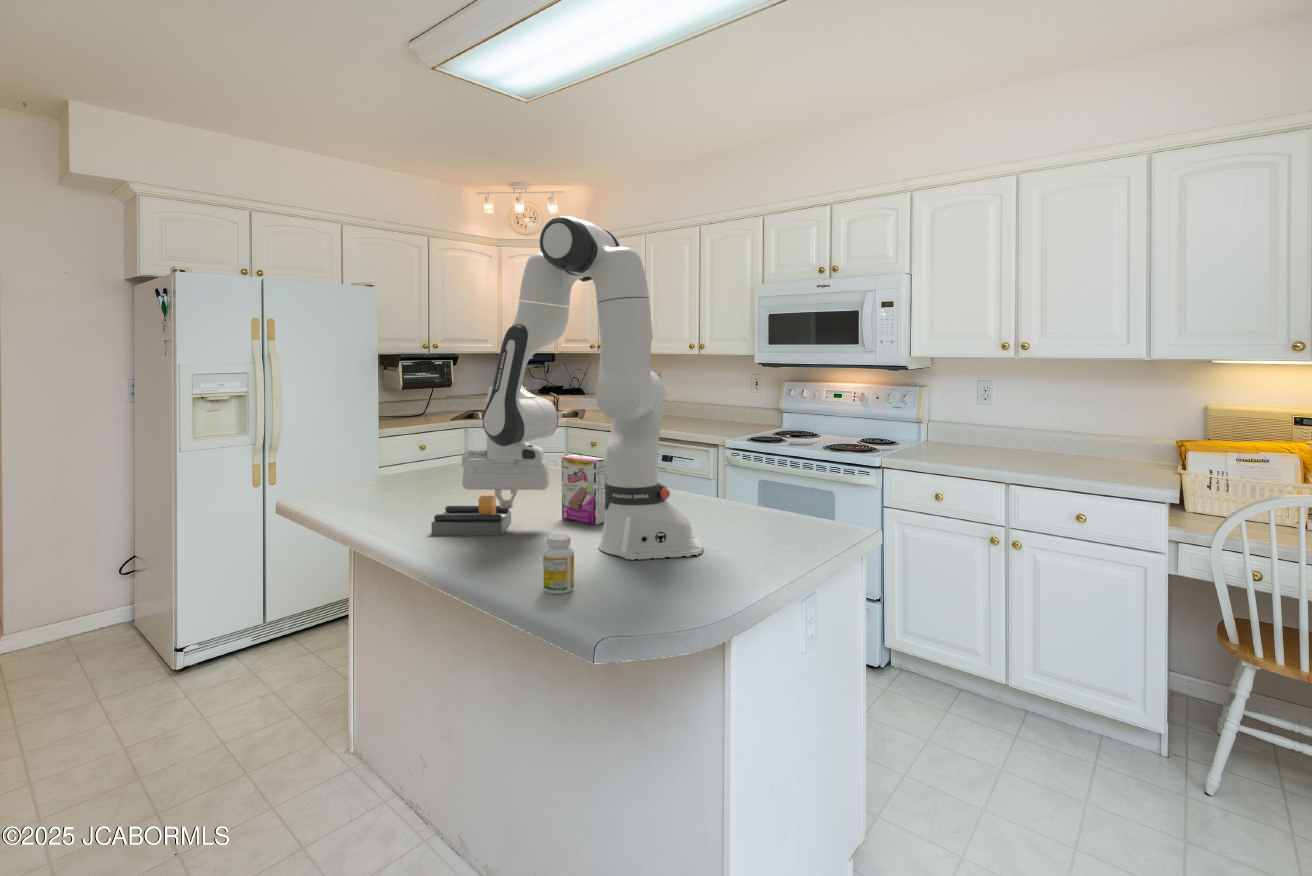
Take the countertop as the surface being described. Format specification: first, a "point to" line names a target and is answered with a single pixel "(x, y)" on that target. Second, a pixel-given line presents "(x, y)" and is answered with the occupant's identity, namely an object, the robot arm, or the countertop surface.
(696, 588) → the countertop surface
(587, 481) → the candy bar box
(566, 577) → the supplement bottle
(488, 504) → the block
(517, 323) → the robot arm
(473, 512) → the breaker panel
